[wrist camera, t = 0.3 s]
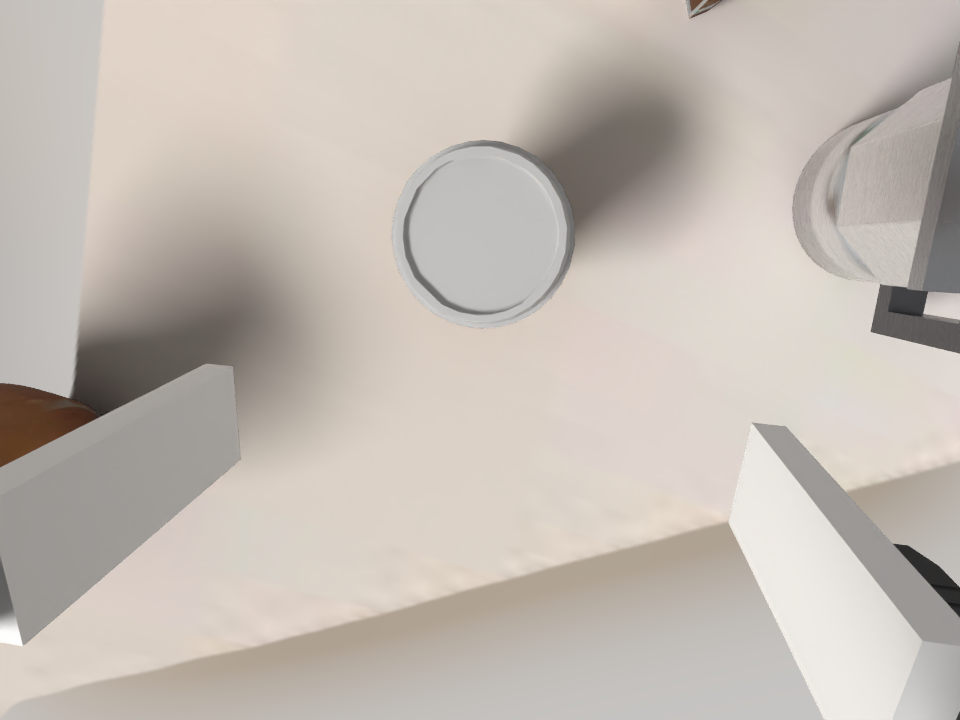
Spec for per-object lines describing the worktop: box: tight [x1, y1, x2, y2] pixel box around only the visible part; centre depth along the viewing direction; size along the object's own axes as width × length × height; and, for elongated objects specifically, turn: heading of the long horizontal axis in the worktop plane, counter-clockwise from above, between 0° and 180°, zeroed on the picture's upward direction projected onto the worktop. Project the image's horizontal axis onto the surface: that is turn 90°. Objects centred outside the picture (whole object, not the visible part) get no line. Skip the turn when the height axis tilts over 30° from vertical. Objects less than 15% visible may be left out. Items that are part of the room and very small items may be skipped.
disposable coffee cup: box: [392, 140, 575, 329], centre depth 33 cm, size 10×10×12 cm
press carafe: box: [793, 43, 960, 353], centre depth 30 cm, size 13×10×14 cm
